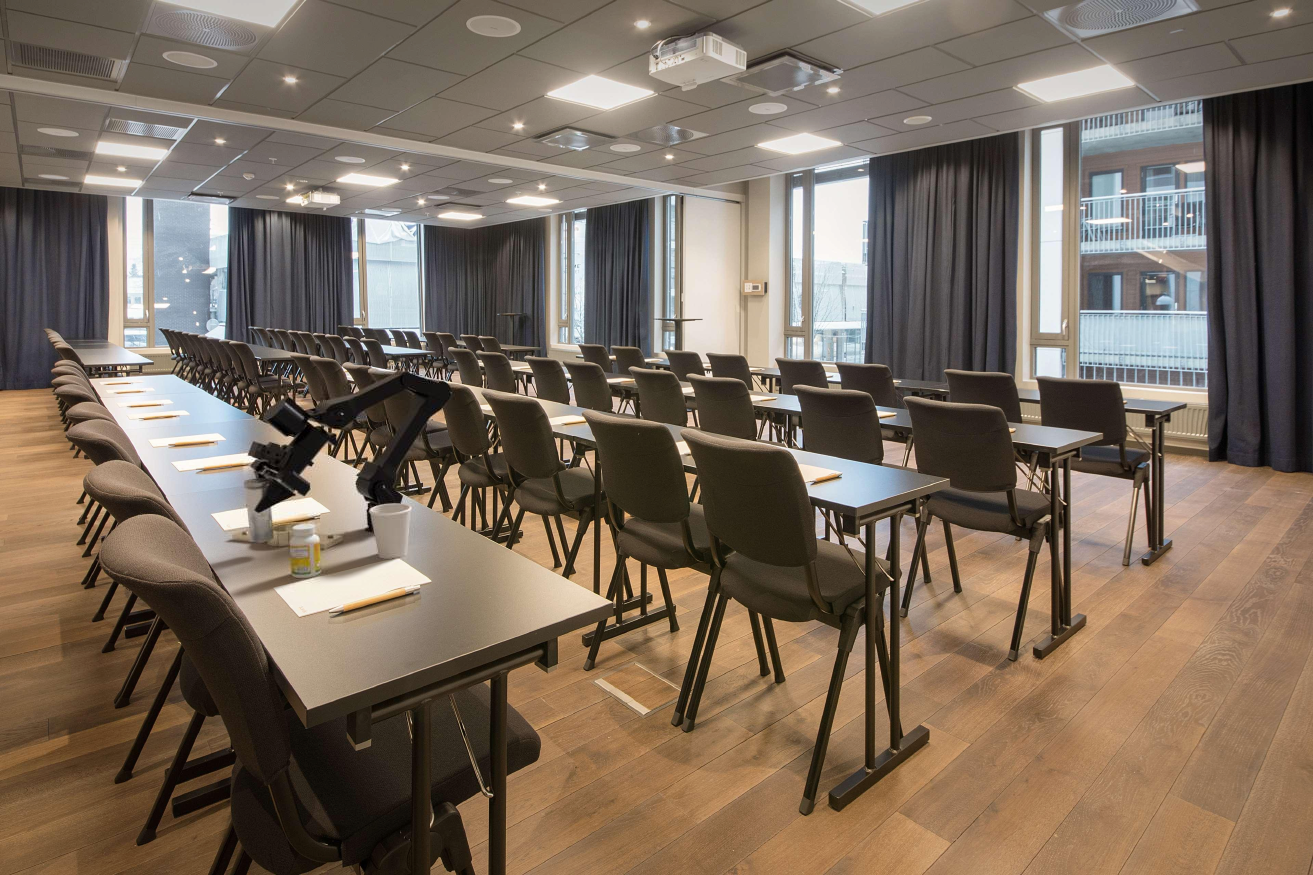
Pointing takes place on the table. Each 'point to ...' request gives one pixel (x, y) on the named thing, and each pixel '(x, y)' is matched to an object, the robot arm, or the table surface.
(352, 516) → the table surface
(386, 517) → the dixie cup
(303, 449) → the robot arm
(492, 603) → the table surface
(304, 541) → the supplement bottle
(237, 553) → the table surface
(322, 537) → the hinge
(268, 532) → the grey cylinder
